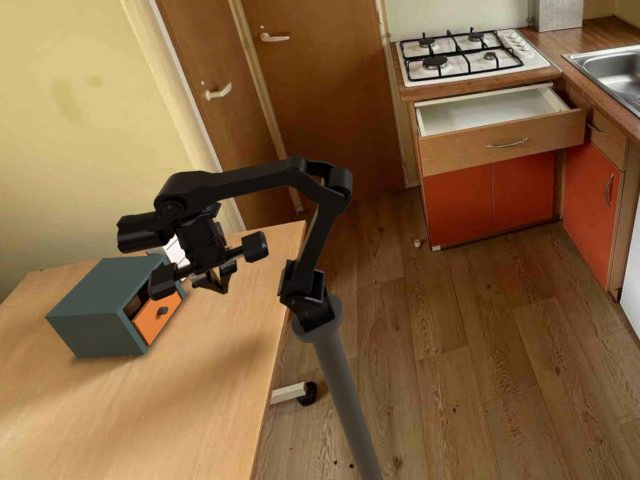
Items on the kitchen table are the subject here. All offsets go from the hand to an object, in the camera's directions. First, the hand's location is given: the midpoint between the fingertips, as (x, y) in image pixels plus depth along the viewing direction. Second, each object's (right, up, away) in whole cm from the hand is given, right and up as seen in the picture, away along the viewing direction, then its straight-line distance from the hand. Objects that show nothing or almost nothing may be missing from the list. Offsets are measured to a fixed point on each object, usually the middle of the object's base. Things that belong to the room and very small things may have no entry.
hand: (225, 292), depth 85 cm
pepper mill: (-23, -10, +6) cm, 26 cm away
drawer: (-24, -10, +8) cm, 27 cm away
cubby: (-25, -11, +8) cm, 28 cm away
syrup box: (-25, -4, +20) cm, 32 cm away
